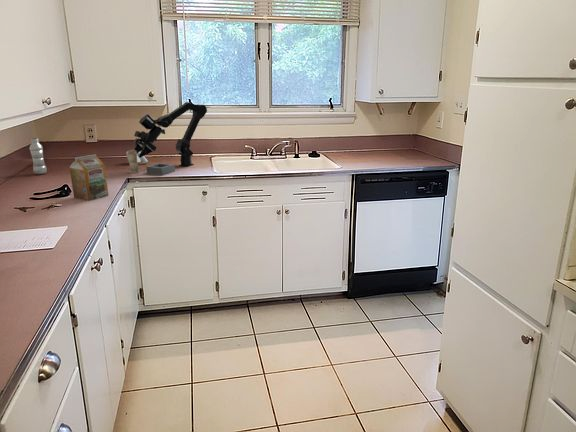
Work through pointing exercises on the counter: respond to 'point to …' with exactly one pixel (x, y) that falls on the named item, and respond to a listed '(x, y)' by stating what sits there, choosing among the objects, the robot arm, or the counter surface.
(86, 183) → the milk carton
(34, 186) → the counter surface
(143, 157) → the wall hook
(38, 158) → the plastic bottle
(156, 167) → the frame
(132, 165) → the birch peg
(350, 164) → the counter surface
